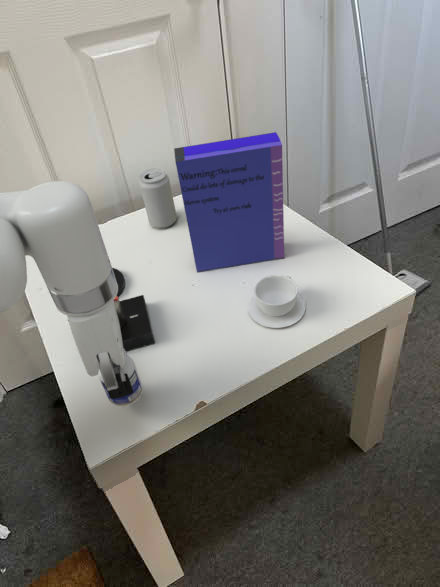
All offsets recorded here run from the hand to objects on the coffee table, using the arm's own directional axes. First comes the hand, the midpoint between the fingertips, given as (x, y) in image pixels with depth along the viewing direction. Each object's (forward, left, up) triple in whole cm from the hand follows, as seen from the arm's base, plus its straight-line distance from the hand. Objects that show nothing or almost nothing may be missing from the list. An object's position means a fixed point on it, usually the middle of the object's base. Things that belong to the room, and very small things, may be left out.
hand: (119, 377), depth 66 cm
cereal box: (+26, +26, -6) cm, 37 cm away
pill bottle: (0, 0, -4) cm, 4 cm away
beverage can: (+14, +45, -6) cm, 48 cm away
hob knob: (0, +15, -4) cm, 15 cm away
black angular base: (0, +15, -6) cm, 16 cm away
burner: (-2, +28, -6) cm, 29 cm away
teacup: (+28, +10, -6) cm, 30 cm away
